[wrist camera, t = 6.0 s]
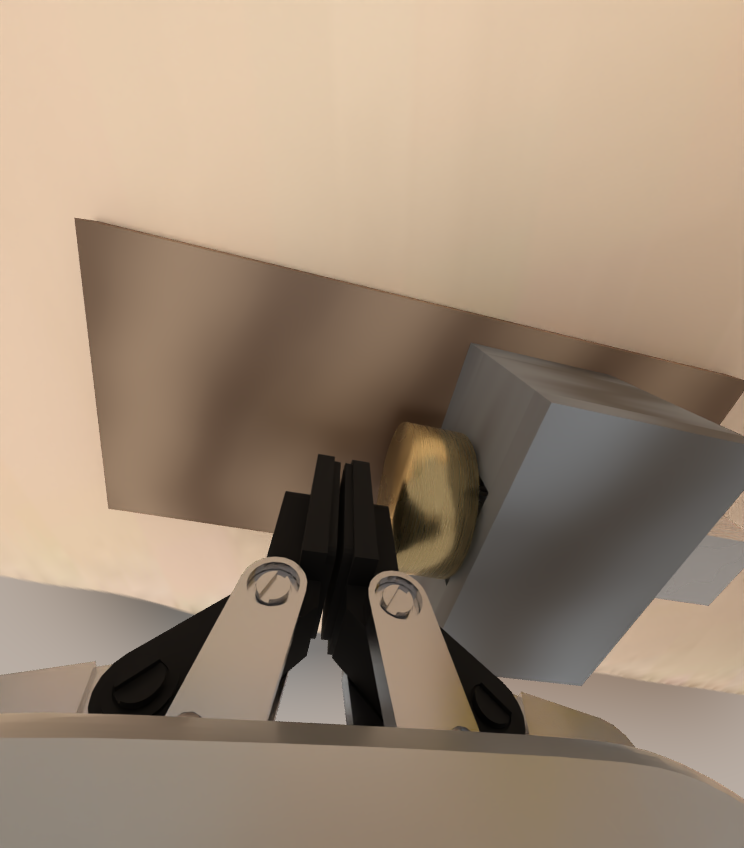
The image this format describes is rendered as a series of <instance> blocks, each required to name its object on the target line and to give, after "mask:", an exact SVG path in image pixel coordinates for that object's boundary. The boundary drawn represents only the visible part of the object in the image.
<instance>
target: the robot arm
mask: <svg viewBox="0 0 744 848" xmlns="http://www.w3.org/2000/svg"><path fill="white" fill-rule="evenodd" d="M340 470H341V462H337V461H335V457H334V456H328V455H322V454H318V457H317V462H316V467H315V473H314V478H313V483H312V488H311V494H303V493H296V492H289V491H286V492H285V494H284V498H283V501H282V505H281V509H280V512H279V516H278V519H277V523H276V526H275V530H274V534H273V537H272V541H271V544H270V548H269V551H268V555H267V558H263V559H261V560H258V561H255V562H254V563H253V564H251V565H250V566H249V567H247V569H246V570H245V571H244V572H243V574H242V575H241V577H240V579H239V581H238V583H237V584H236V586H235V588H234V590H233V592H232V594H231V595H229V596H227V597H225V598H224V599H222V600H220V601H218V602H217V603H215V604H213V605H211V606H210V607H208V608H206V609H204V610H203V611H201V612H199V613H197V614H196V615H194V616H192V617H190V618H189V619H187V620H185V621H183V622H182V623H180V624H178V625H176V626H175V627H173V628H171V629H170V630H168V631H166V632H164V633H162V634H161V635H159V636H158V637H155V638H154V639H152V640H150V641H148V642H147V643H145V644H143V645H141V646H140V647H138V648H136V649H134V650H133V651H131V652H129V653H128V654H126V655H125V656H123V657H122V658H120V659H119V660H118V661H116V662H115V663H114V664H111V665H105V666H98V667H96V662H95V661H94V662H87V663H80V664H74V665H66V666H59V667H53V668H46V669H39V670H33V671H25V672H18V673H11V674H4V675H0V848H744V799H743V798H741V797H740V796H739V795H737V794H736V793H734V792H733V791H731V790H729V789H728V788H726V787H724V786H723V785H721V784H719V783H718V782H716V781H715V780H713V779H711V778H709V777H707V776H705V775H703V774H701V773H699V772H697V771H695V770H693V769H691V768H689V767H687V766H685V765H683V764H681V763H678V762H676V761H674V760H671V759H669V758H666V757H663V756H661V755H658V754H655V753H652V752H649V751H646V750H642V749H638V748H635V746H634V745H633V744H632V743H631V742H630V740H629V739H628V738H627V737H626V735H624V734H623V733H622V732H621V731H620V730H619V729H617V728H616V727H615V726H614V725H612V724H610V723H608V722H607V721H605V720H603V719H601V718H598V717H595V716H591V715H589V714H586V713H583V712H580V711H577V710H574V709H571V708H568V707H565V706H562V705H559V704H556V703H553V702H550V701H547V700H544V699H541V698H538V697H535V696H532V695H530V694H527V693H523V692H520V694H519V695H518V696H517V695H514V694H512V692H511V691H510V690H509V689H508V688H507V687H506V685H505V684H503V682H502V681H501V680H500V679H498V678H497V677H496V676H495V675H494V674H493V673H492V672H491V671H489V670H488V669H487V668H486V667H485V666H484V665H483V664H482V663H480V662H479V661H478V660H477V659H476V658H475V657H474V656H473V655H472V654H470V653H469V652H468V651H467V650H466V649H465V648H464V647H463V646H461V645H460V644H459V643H458V642H457V641H456V640H455V639H454V638H452V637H451V636H450V635H449V634H448V633H447V632H446V631H445V630H443V629H442V628H441V627H440V626H439V625H438V622H437V619H436V617H435V614H434V612H433V609H432V606H431V604H430V601H429V599H428V596H427V594H426V592H425V590H424V589H423V587H422V586H421V585H420V584H419V583H418V582H417V581H416V580H415V579H414V578H412V577H411V576H409V575H407V574H405V573H402V572H399V569H398V563H397V556H396V550H395V543H394V537H393V531H392V524H391V518H390V512H389V508H388V506H383V505H376V504H374V503H373V493H372V482H371V472H370V463H369V462H364V461H358V460H352V462H351V464H349V463H345V465H344V469H343V474H342V478H341V482H340ZM322 610H323V616H322V629H321V639H322V640H323V639H324V640H328V654H330V655H332V658H333V659H334V661H335V662H336V663H337V664H338V665H339V667H340V668H341V669H342V689H343V697H344V706H345V715H346V723H347V725H340V724H319V723H300V722H280V721H275V719H276V715H277V712H278V708H279V705H280V701H281V698H282V695H283V691H284V687H285V684H286V681H287V677H288V673H289V670H290V669H292V667H294V666H295V665H296V664H297V663H299V662H300V661H301V660H302V659H303V658H305V657H306V656H307V652H308V648H309V644H310V639H311V638H313V639H315V638H316V634H317V631H318V627H319V622H320V618H321V614H322Z"/></svg>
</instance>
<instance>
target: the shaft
mask: <svg viewBox="0 0 744 848" xmlns="http://www.w3.org/2000/svg"><path fill="white" fill-rule="evenodd" d="M488 493H489V492H488V490H487V488H486V487H485V485H484V483H483V481H482V479H481V478H480V476H479V471H478V464H477V459H476V454H475V451H474V448H473V446H472V444H471V442H470V440H469V439H468V437H467V436H466V435H464V434H463V433H460V432H455V431H450V430H445V429H440V428H435V427H430V426H424V425H419V424H414V423H409V422H402V423H401V424H400V425H399V426H398V427H397V429H396V431H395V433H394V435H393V437H392V440H391V442H390V445H389V448H388V451H387V454H386V458H385V462H384V466H383V470H382V475H381V480H380V485H379V491H378V498H377V505H383V506H388V508H389V512H390V518H391V524H392V531H393V537H394V543H395V550H396V556H397V563H398V569H399V572H402V573H405V574H408V575H415V576H422V577H429V578H436V579H448V578H450V577H452V576H453V575H454V574H455V573H456V572H457V571H458V569H459V568H460V567H461V565H462V563H463V561H464V559H465V557H466V555H467V553H468V550H469V547H470V544H471V541H472V538H473V534H474V530H475V525H476V520H477V518H478V515H479V513H480V511H481V509H482V507H483V504H484V502H485V500H486V498H487V495H488ZM743 568H744V530H743V529H741V528H740V527H738V526H737V525H735V524H734V523H733V522H731V521H730V520H728V519H727V518H726V517H724V516H722V517H721V518H720V520H719V521H718V522H717V523H716V524H715V526H714V527H713V528H712V529H711V530H710V532H709V533H708V534H707V535H706V536H705V538H704V539H703V540H702V541H701V542H700V544H699V545H698V546H697V547H696V548H695V550H694V551H693V552H692V553H691V555H690V556H689V557H688V558H687V559H686V561H685V562H684V563H683V564H682V565H681V567H680V568H679V569H678V570H677V571H676V573H675V574H674V575H673V576H672V577H671V579H670V580H669V581H668V582H667V583H666V585H665V586H664V587H663V588H662V589H661V591H660V592H659V593H658V594H657V596H656V597H655V598H659V599H666V600H672V601H679V602H686V603H693V604H700V605H707V606H709V605H710V604H711V603H712V602H713V600H714V599H715V598H716V597H717V596H718V595H719V594H720V593H721V592H722V591H723V590H724V589H725V588H726V587H727V586H728V584H729V583H730V582H731V581H732V580H733V579H734V578H735V577H736V576H737V575H738V574H739V573H740V572H741V571H742V570H743Z"/></svg>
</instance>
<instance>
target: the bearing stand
mask: <svg viewBox="0 0 744 848" xmlns="http://www.w3.org/2000/svg"><path fill="white" fill-rule="evenodd" d="M75 226H76V235H77V244H78V252H79V261H80V269H81V278H82V286H83V295H84V303H85V312H86V321H87V329H88V338H89V346H90V355H91V363H92V372H93V380H94V389H95V398H96V406H97V415H98V423H99V432H100V440H101V449H102V457H103V466H104V475H105V483H106V492H107V500H108V509H115V510H122V511H129V512H135V513H142V514H149V515H155V516H162V517H169V518H175V519H182V520H189V521H196V522H202V523H209V524H216V525H222V526H229V527H236V528H242V529H249V530H256V531H262V532H269V533H274V530H275V526H276V523H277V519H278V516H279V512H280V509H281V505H282V501H283V498H284V494H285V492H286V491H289V492H296V493H303V494H311V488H312V483H313V478H314V473H315V467H316V462H317V457H318V454H322V455H328V456H334V457H335V461H337V462H341V470H340V482H341V478H342V474H343V469H344V465H345V463H349V464H351V462H352V460H358V461H364V462H369V463H370V472H371V482H372V493H373V503H374V504H376V505H377V498H378V491H379V485H380V480H381V475H382V470H383V466H384V462H385V458H386V454H387V451H388V448H389V445H390V442H391V440H392V437H393V435H394V433H395V431H396V429H397V427H398V426H399V425H400V424H401V423H402V422H409V423H414V424H419V425H424V426H430V427H435V428H440V429H445V430H450V431H455V432H460V433H463V434H464V435H466V436H467V437H468V439H469V440H470V442H471V444H472V446H473V448H474V451H475V454H476V459H477V464H478V471H479V476H480V478H481V479H482V481H483V483H484V485H485V487H486V488H487V490H488V492H489V493H488V495H487V498H486V500H485V502H484V504H483V507H482V509H481V511H480V513H479V515H478V518H477V520H476V525H475V530H474V534H473V538H472V541H471V544H470V547H469V550H468V553H467V555H466V557H465V559H464V561H463V563H462V565H461V567H460V568H459V569H458V571H457V572H456V573H455V574H454V575H453V576H452V577H450V578H448V579H436V578H429V577H422V576H415V575H409V576H411V577H412V578H414V579H415V580H416V581H417V582H418V583H419V584H420V585H421V586H422V587H423V589H424V590H425V592H426V594H427V596H428V599H429V601H430V604H431V606H432V609H433V612H434V614H435V617H436V619H437V622H438V625H439V626H440V627H441V628H442V629H443V630H445V631H446V632H447V633H448V634H449V635H450V636H451V637H452V638H454V639H455V640H456V641H457V642H458V643H459V644H460V645H461V646H463V647H464V648H465V649H466V650H467V651H468V652H469V653H470V654H472V655H473V656H474V657H475V658H476V659H477V660H478V661H479V662H480V663H482V664H483V665H484V666H485V667H486V668H487V669H488V670H489V671H491V672H492V673H493V674H494V675H495V676H496V677H503V678H513V679H522V680H531V681H541V682H550V683H559V684H569V685H578V686H582V685H583V683H584V682H585V681H586V680H587V679H588V678H589V676H590V675H591V674H592V673H593V671H594V670H595V669H596V668H597V667H598V665H599V664H600V663H601V662H602V661H603V659H604V658H605V657H606V656H607V655H608V653H609V652H610V651H611V650H612V649H613V647H614V646H615V645H616V644H617V643H618V641H619V640H620V639H621V638H622V637H623V635H624V634H625V633H626V632H627V630H628V629H629V628H630V627H631V626H632V624H633V623H634V622H635V621H636V620H637V618H638V617H639V616H640V615H641V614H642V612H643V611H644V610H645V609H646V608H647V606H648V605H649V604H650V603H651V602H652V600H653V599H654V598H655V597H656V596H657V594H658V593H659V592H660V591H661V589H662V588H663V587H664V586H665V585H666V583H667V582H668V581H669V580H670V579H671V577H672V576H673V575H674V574H675V573H676V571H677V570H678V569H679V568H680V567H681V565H682V564H683V563H684V562H685V561H686V559H687V558H688V557H689V556H690V555H691V553H692V552H693V551H694V550H695V548H696V547H697V546H698V545H699V544H700V542H701V541H702V540H703V539H704V538H705V536H706V535H707V534H708V533H709V532H710V530H711V529H712V528H713V527H714V526H715V524H716V523H717V522H718V521H719V520H720V518H721V517H722V516H723V515H724V514H725V512H726V511H727V510H728V509H729V507H730V506H731V505H732V504H733V503H734V501H735V500H736V499H737V498H738V497H739V495H740V494H741V493H742V492H743V491H744V436H742V435H740V434H738V433H735V432H733V431H731V430H729V429H727V428H725V427H722V426H720V424H721V422H722V421H723V419H724V418H725V417H726V415H727V414H728V412H729V411H730V410H731V408H732V407H733V406H734V404H735V403H736V401H737V400H738V399H739V397H740V396H741V394H742V393H743V392H744V380H742V379H739V378H736V377H732V376H729V375H726V374H721V373H717V372H713V371H709V370H705V369H701V368H697V367H693V366H689V365H685V364H680V363H676V362H672V361H668V360H664V359H660V358H656V357H652V356H648V355H643V354H639V353H635V352H631V351H627V350H623V349H619V348H615V347H611V346H607V345H602V344H598V343H594V342H590V341H586V340H582V339H578V338H574V337H570V336H566V335H561V334H557V333H553V332H549V331H545V330H541V329H537V328H533V327H529V326H524V325H520V324H516V323H512V322H508V321H504V320H500V319H496V318H492V317H488V316H483V315H479V314H475V313H471V312H467V311H463V310H459V309H455V308H451V307H447V306H442V305H438V304H434V303H430V302H426V301H422V300H418V299H414V298H410V297H406V296H401V295H397V294H393V293H389V292H385V291H381V290H377V289H373V288H369V287H364V286H360V285H356V284H352V283H348V282H344V281H340V280H336V279H332V278H328V277H323V276H319V275H315V274H311V273H307V272H303V271H299V270H295V269H291V268H287V267H282V266H278V265H274V264H270V263H266V262H262V261H258V260H254V259H250V258H246V257H241V256H237V255H233V254H229V253H225V252H221V251H217V250H213V249H209V248H204V247H200V246H196V245H192V244H188V243H184V242H180V241H176V240H172V239H168V238H163V237H159V236H155V235H151V234H147V233H143V232H139V231H135V230H131V229H127V228H122V227H118V226H114V225H110V224H106V223H102V222H98V221H92V220H86V219H79V218H75Z"/></svg>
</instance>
